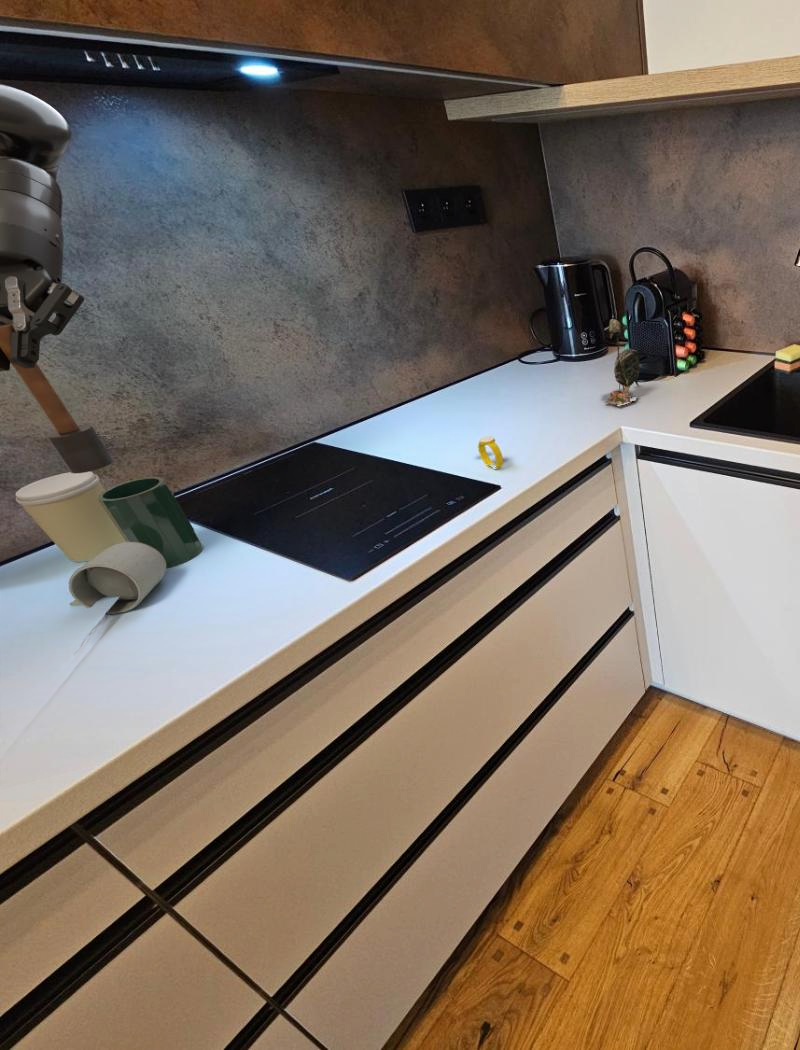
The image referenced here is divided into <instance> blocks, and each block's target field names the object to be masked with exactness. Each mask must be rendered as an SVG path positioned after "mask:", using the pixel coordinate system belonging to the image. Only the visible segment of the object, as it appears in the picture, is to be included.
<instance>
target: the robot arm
mask: <svg viewBox="0 0 800 1050" xmlns="http://www.w3.org/2000/svg"><path fill="white" fill-rule="evenodd" d="M71 141H72V130H71V127H70V125H69V123H68V122H67V120H66V119H65V117H64V116H63V115H62V114H61V113H60V112H59V111H57V109H55V108H54V107H52V106H51V105H50V104H49V103H47V102H46V101H44V100H42V99H40V98H39V97H37V96H35V95H32V94H31V93H29V92H26V91H24V90H21V89H19V88H17V87H16V88H15V87H13V86H9V85H6V84H2V83H0V325H8V324H10V325H12V326H13V328H14V329H15V331H16V332H12V333H11V348H10V359H11V361H12V362H14V363H15V364H17V365H19V366H21V367H23V368H25V369H28V368H34V367H35V363H37V364H38V362H39V360H40V351H41V349H40V348H41V347H40V346H41V342H43V341H45V338H46V336H48V335H51V336H59V335H61V334H62V333H63V331H64V330H65V328H66V327H67V325H68V324H69V322H70V321H71V320H72V318H74V315H75V314H76V313H77V311H78V310H79V309H80V307H81V306H82V305H83V303H84V302H85V297H84V296H83V295H82V294H81V293H79V292H78V291H77V290H75V289H74V288H72V287H71V286H69V285H68V284H67V283H64V282H63V268H64V267H63V266H64V265H63V264H64V243H65V242H64V241H65V238H64V237H65V236H64V230H63V193H62V189H61V187H60V185H59V184H58V183H59V182H58V181H57V175H58V171H59V168H60V165H61V163H62V161H63V158H64V156H65V154H66V152H67V150H68V148H69V146H70V144H71ZM53 314H55V316H54V318H53V320H52V321H50V319H51V317H52V316H53ZM10 370H11V362H10V361H9V360H8V358H7V357H6V355H5V354H4V352H3V351H2V349H1V348H0V372H9V371H10Z"/></svg>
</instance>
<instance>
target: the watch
mask: <svg viewBox="0 0 800 1050" xmlns="http://www.w3.org/2000/svg"><path fill="white" fill-rule="evenodd" d="M477 445H478V446H477V448H478V453H479V456H480V459H481V460H482V462H483V463H484V465H485V466H486V465H489V466H490V465H491V464H492V465H493V464H496V467H495V468H498V469H500V468H502V466H503V465H504V457H503V453H502V451H501V449H500V447H499V445H498V444H497V443H496V438H495V436H493V435H492V436H491V435H487V436H483V437H481V438H480V439H479V441H478V444H477ZM486 446H488V447H489V448H490V450H491V452H492V453H493V455H494V458H495V462H493V461H492V459H491V458H490V457H489V454H488V452H487V448H486ZM489 466H488V467H489ZM499 467H500V468H499Z"/></svg>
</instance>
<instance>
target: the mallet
mask: <svg viewBox="0 0 800 1050" xmlns="http://www.w3.org/2000/svg"><path fill="white" fill-rule="evenodd" d="M12 332H17V330H15V329H14V328H13V326H12V325H10V324H8V325H0V348H1V349H2V351H3V352H4V354H5V355H6V357H7V358H8V360H9V361H10V365H12V367H13V368H14V370H15V371H16V373H17V374H18V376H19V377H20V378H21V381H22V382H23V384H24V385H25V386H26V388H27V389H28V391H29V393H30V394H31V395H32V396H33V398H34V400H35V401H36V402H37V403H38V405H39V407H40V408H41V410H42V411H43V413H44V415H46V418H47V419H48V420H49V421H50V423H51V424H52V426H53V428H54V429H55V430H54V431H52V432H49V433H48V434H46V436H45V438H46V439H47V441H48V442H49V444H50V445H51V446H52V448H53V449H54V451H55V452H56V454H57V455H58V457H59V459H60V460H61V461H62V462H63V464H64V465H65V466H66V468H67V470H68V471H69V472H71V473H85V472H93V471H94V472H95V471H97V470H100V469H103V468H105V467H108V466H110V465H111V464H113V463H114V461H115V460H114V458H113V456H112V455H111V453H110V452H109V450H108V448H107V447H106V446H105V444H104V442H103V441H102V439H101V438H100V436H99V434H98V433H97V432H96V430H95V428H94V427H93V425H91V424H77V422H76V421H75V419H74V418H73V416H72V415H71V413H70V411H69V410H68V409H67V407H66V405H65V404H64V402H63V401H62V400H61V397H60V396H59V394H58V393H57V392H56V390H55V389H54V387H53V386H52V385H51V383H50V381H49V379H48V378H47V377H46V375H45V373H44V372H43V371H42V369H41V367H40V366H39V364H38V362H37V363H35V367H34V368H28V369H25V368H23V367H21V366H19V365H17V364H15V363H14V362H12V361H11V359H10V348H11V333H12Z"/></svg>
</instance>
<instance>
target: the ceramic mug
mask: <svg viewBox="0 0 800 1050" xmlns="http://www.w3.org/2000/svg"><path fill="white" fill-rule="evenodd" d="M166 571H167V568H166V561H165V559H164V557H163V556H162V554H161V553H160V552H159V551H158V550H156V549H155V548H153V547H151V546H149V545H146V544H144V543H140V542H124V543H120V544H116V545H114V546H112V547H109V548H108V549H106V550H105V551H103V552H101V553H100V554H99V555H98V556H96V557H95V558H93V559H92V560H90V561H87V562H85V563H84V564H83V565H82V566H80V567H78V568H77V569H76V570H75V571H73V573H72V574H71V575H70V577H69V579H68V592H69V593H70V595H71V596H72V598H73V599H74V600H73V601H71V602H70V603H69V605H70V606H73V607H85V608H86V609H91V608H92V607H93V606H94V605H95V604H96V603H97V602H98V601H99V600H100V599H101V598H102V597H103V596H104V597H107V598H118V599H116V601H115V602H113V604H112V605H111V607H110V608H109V609H108V610H107V611H106V612H105V614H112V615H113V614H114V615H115V614H122V613H126V612H129V611H131V610H133V609H134V608H137V606H138V605H139V604H140V603H141V602H142V601H143V600H144V599H145V598H146V597H147V596H148V595H149V594H150V593H151V591H152V590H154V588H155V587H156V586H157V585H158V584H159V583H160V582H161V580H162V579H163V577H164V576H165V574H166Z"/></svg>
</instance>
